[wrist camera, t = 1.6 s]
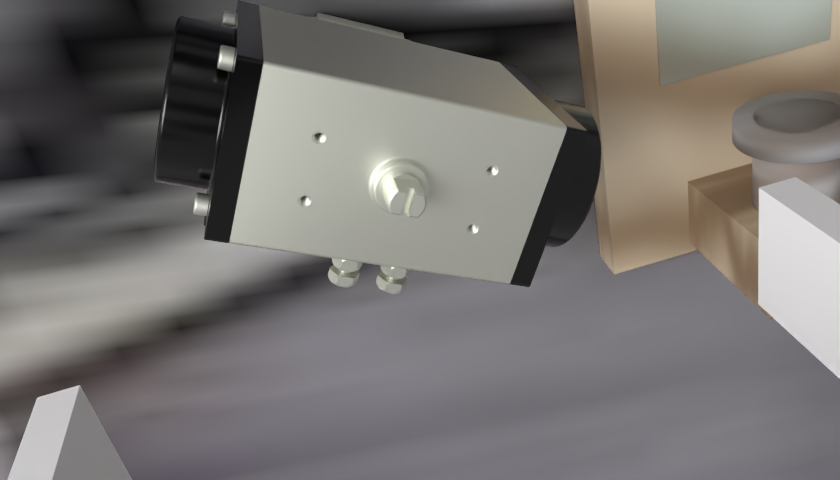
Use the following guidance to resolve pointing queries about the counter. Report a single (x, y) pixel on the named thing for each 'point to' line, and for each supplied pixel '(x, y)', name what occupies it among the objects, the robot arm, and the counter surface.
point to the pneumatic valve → (370, 148)
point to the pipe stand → (706, 121)
